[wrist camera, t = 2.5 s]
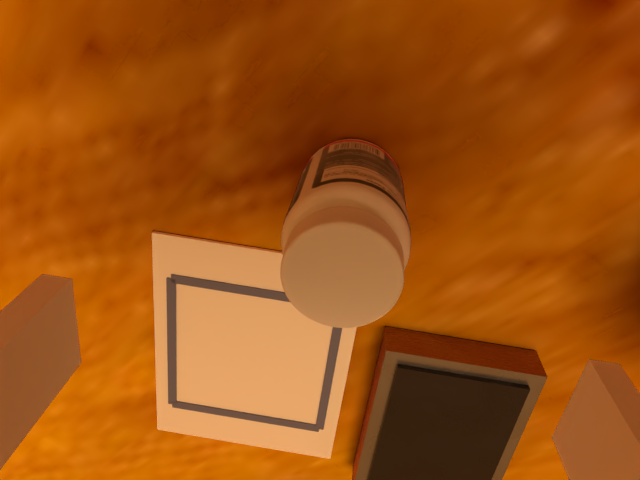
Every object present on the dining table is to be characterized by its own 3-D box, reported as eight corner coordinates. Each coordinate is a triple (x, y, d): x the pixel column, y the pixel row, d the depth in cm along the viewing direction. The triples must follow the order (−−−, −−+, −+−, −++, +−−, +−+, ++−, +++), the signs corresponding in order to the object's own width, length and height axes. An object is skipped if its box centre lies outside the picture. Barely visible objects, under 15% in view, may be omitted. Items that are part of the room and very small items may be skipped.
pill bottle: (344, 249, 25) (332, 362, 18) (280, 179, 24) (237, 270, 16) (424, 193, 23) (446, 292, 16) (359, 114, 22) (351, 182, 15)
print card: (153, 230, 26) (150, 233, 25) (368, 265, 25) (368, 268, 25) (158, 427, 32) (156, 430, 32) (330, 456, 32) (330, 460, 32)
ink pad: (385, 326, 27) (386, 354, 25) (536, 350, 27) (549, 381, 25) (352, 465, 32) (351, 498, 30) (479, 487, 32) (486, 521, 30)
